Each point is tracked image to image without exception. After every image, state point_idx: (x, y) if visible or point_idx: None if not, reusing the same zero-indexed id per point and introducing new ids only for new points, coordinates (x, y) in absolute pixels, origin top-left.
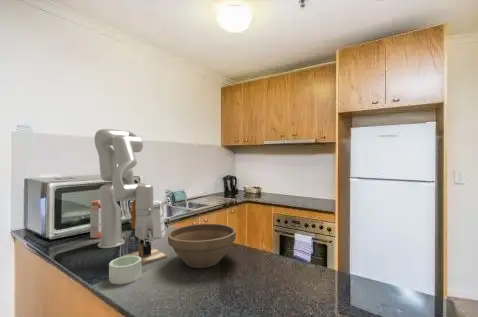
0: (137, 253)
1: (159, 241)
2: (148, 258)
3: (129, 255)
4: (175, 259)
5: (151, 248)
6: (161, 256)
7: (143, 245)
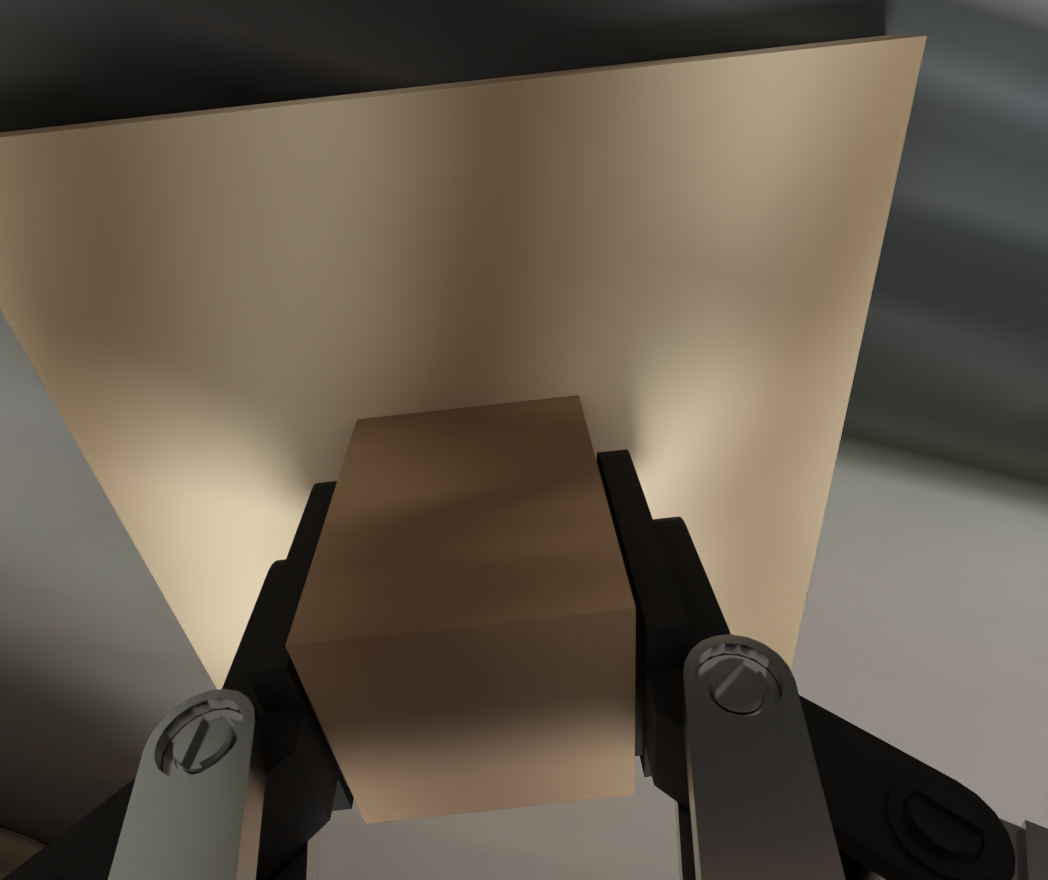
0: (730, 404)
1: (1044, 774)
2: (237, 504)
3: (753, 205)
4: (126, 755)
5: (781, 657)
6: None
7: (359, 685)
